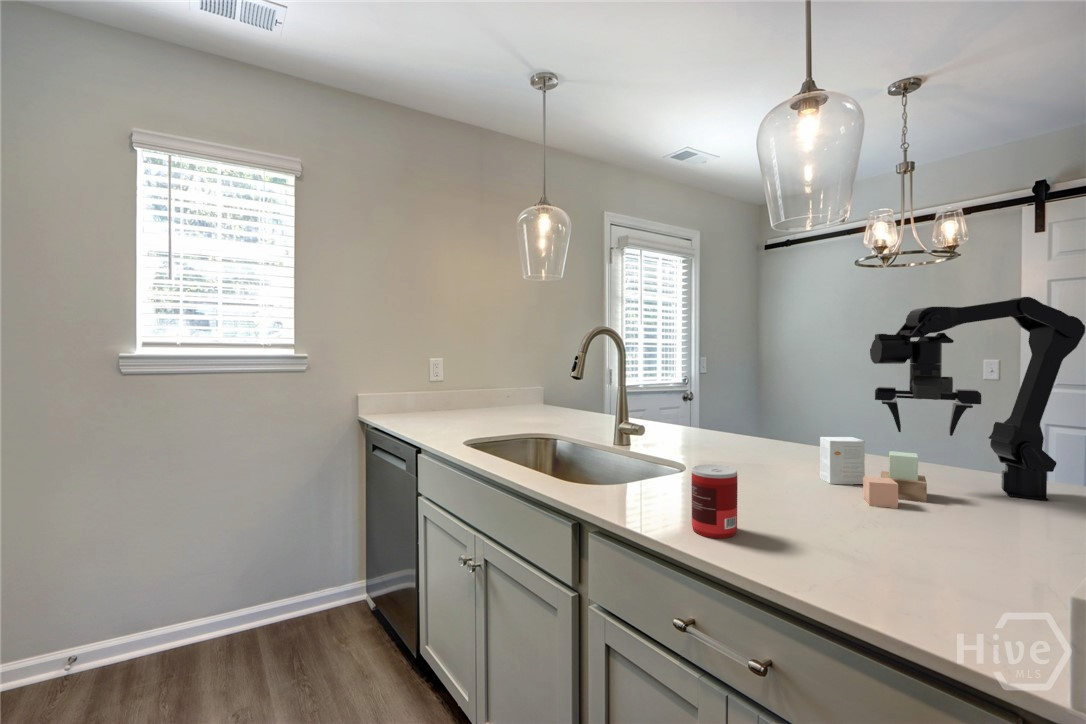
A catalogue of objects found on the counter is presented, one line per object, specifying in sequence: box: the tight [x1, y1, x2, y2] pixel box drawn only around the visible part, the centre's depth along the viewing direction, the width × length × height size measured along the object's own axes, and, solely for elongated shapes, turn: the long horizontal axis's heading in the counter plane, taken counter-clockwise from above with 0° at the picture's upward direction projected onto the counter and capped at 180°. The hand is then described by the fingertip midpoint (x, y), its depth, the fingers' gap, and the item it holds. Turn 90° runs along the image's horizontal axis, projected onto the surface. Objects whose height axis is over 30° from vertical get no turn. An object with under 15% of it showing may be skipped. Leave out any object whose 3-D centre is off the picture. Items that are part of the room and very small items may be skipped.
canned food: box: [691, 464, 738, 539], centre depth 91 cm, size 8×8×11 cm
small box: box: [819, 436, 866, 485], centre depth 124 cm, size 8×6×10 cm
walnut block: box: [880, 470, 928, 503], centre depth 112 cm, size 8×8×4 cm
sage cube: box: [888, 450, 919, 481], centre depth 112 cm, size 5×5×5 cm
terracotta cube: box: [862, 476, 899, 509], centre depth 106 cm, size 5×5×5 cm
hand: (924, 433), depth 115 cm, fingers open, 9 cm apart
